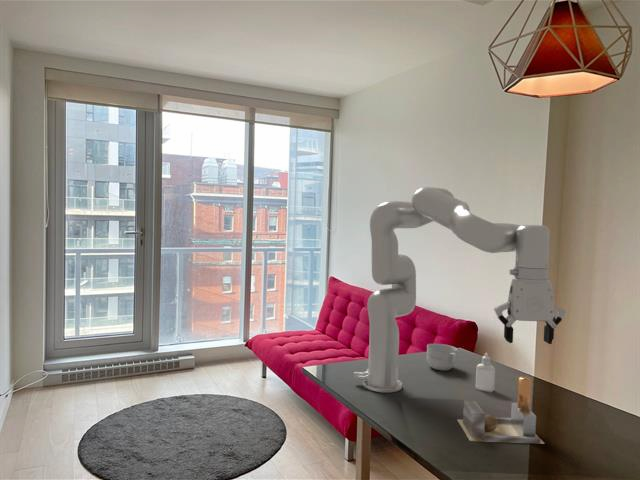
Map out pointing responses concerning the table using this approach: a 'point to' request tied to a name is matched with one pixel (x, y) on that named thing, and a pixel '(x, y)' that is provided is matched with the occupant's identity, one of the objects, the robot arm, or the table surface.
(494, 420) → the walnut
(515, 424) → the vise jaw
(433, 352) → the teacup
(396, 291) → the robot arm
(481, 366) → the eye dropper bottle
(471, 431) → the board
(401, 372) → the table surface
